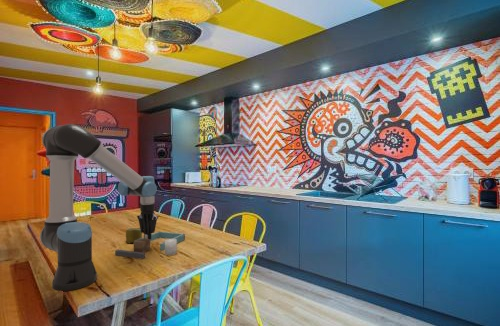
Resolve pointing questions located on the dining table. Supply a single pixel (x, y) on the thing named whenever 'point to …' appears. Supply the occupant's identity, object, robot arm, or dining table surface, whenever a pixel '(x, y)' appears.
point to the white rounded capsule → (170, 246)
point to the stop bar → (130, 254)
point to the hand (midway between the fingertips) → (147, 245)
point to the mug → (133, 234)
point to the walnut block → (142, 245)
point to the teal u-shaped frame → (167, 235)
